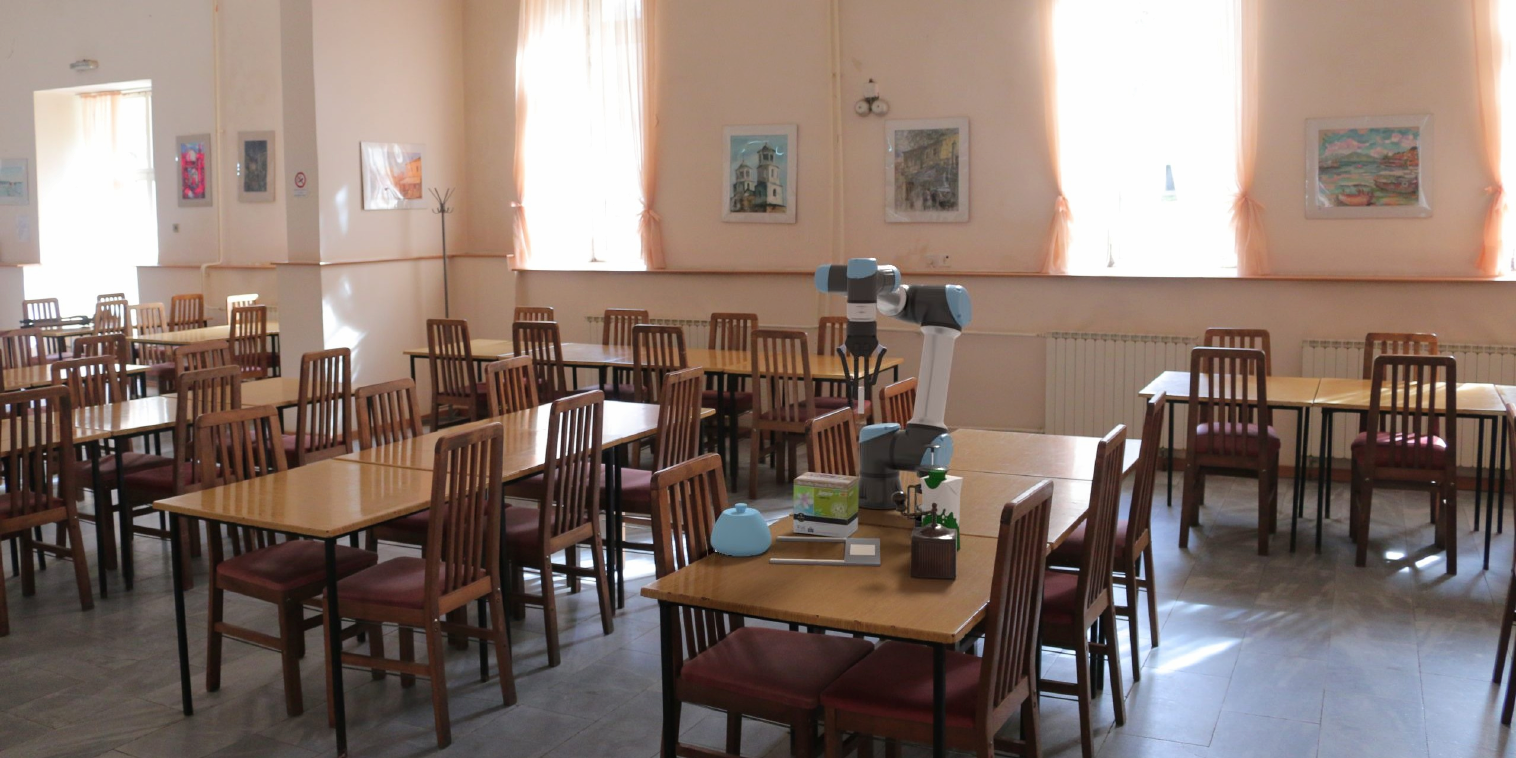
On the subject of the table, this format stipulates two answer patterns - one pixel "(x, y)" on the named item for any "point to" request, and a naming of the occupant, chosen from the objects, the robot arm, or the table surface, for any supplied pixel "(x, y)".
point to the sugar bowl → (741, 532)
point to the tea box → (825, 504)
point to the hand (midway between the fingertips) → (861, 412)
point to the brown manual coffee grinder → (930, 545)
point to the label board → (855, 551)
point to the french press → (921, 472)
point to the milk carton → (942, 499)
